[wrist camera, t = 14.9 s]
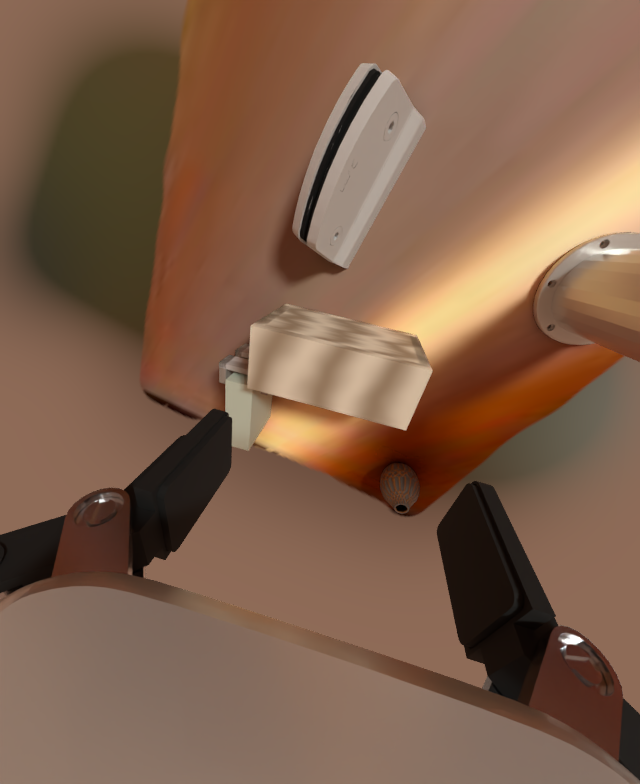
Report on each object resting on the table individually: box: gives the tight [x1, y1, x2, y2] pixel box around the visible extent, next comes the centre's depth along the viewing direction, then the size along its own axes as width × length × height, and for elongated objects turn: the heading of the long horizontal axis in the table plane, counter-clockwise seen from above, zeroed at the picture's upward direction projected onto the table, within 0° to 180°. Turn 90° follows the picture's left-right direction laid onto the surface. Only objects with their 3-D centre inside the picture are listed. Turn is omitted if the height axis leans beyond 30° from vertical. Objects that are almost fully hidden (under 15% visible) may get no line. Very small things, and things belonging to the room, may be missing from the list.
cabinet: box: [219, 304, 433, 430], centre depth 37 cm, size 26×11×13 cm, turn 79°
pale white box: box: [225, 372, 273, 451], centre depth 44 cm, size 5×12×10 cm, turn 169°
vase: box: [380, 463, 420, 514], centre depth 48 cm, size 7×7×9 cm
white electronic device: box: [292, 63, 426, 268], centre depth 29 cm, size 17×5×10 cm, turn 150°
